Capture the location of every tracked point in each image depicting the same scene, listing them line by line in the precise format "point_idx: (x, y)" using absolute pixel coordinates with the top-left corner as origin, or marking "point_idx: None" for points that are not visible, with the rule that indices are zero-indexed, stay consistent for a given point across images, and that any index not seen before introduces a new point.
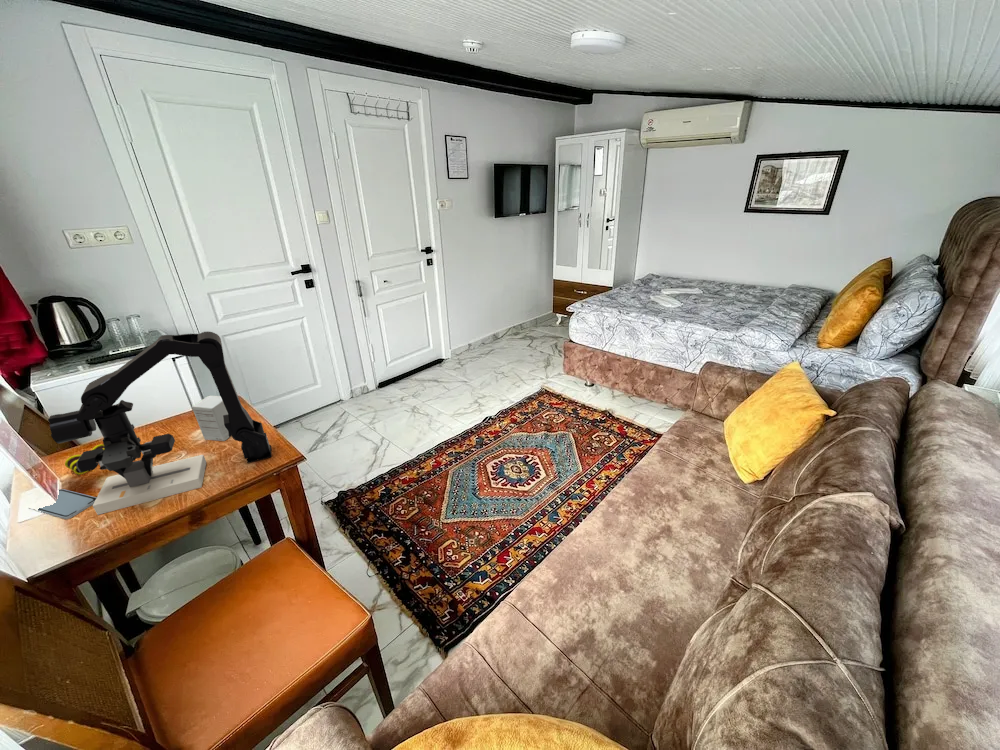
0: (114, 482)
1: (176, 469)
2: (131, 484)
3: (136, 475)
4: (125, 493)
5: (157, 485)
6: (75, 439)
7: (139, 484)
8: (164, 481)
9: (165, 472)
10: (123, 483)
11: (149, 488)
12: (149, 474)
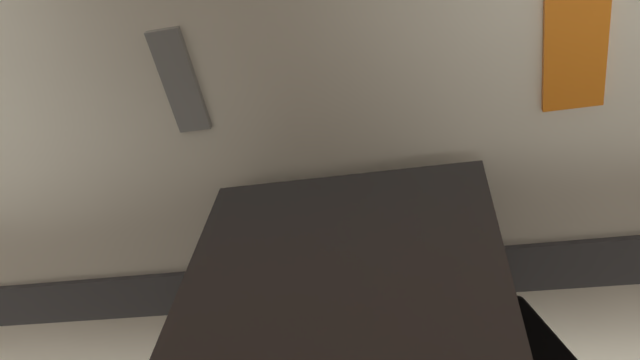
0: None
1: (37, 348)
2: (447, 195)
3: (299, 335)
4: (526, 28)
5: (64, 89)
6: None
7: (343, 182)
8: (25, 161)
9: (139, 336)
10: (615, 295)
11: (148, 42)
12: None
